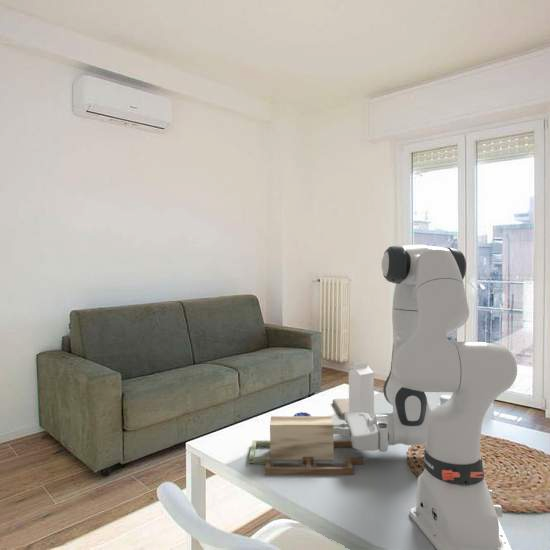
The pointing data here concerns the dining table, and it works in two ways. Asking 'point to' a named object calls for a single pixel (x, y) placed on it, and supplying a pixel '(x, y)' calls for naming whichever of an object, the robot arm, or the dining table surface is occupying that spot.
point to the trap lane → (308, 470)
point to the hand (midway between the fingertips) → (332, 429)
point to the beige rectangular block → (301, 437)
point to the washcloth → (342, 406)
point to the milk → (361, 389)
